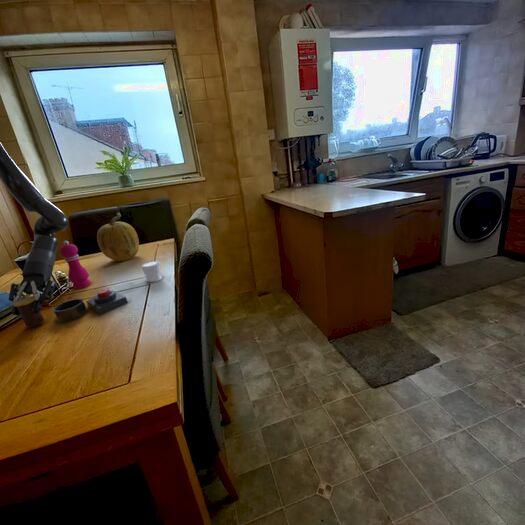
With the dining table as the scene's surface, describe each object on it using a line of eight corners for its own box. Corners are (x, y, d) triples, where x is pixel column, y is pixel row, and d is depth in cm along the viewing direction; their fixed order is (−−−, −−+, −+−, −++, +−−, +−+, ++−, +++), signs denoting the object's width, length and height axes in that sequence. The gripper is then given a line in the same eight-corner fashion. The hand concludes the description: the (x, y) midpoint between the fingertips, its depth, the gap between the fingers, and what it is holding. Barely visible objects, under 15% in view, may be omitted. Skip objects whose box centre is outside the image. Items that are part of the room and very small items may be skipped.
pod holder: (62, 325, 87) (57, 314, 86) (54, 318, 93) (49, 307, 91) (90, 312, 93) (86, 302, 92) (81, 306, 98) (77, 296, 97)
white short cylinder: (155, 275, 120) (151, 260, 117) (166, 277, 116) (162, 261, 114) (142, 281, 114) (137, 266, 112) (153, 283, 111) (148, 267, 108)
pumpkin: (140, 260, 142) (126, 212, 134) (100, 268, 138) (83, 219, 130) (145, 250, 159) (132, 207, 151) (109, 257, 156) (94, 213, 147)
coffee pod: (26, 329, 86) (15, 306, 83) (22, 324, 89) (11, 302, 87) (48, 320, 90) (38, 298, 87) (43, 315, 93) (33, 294, 91)
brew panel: (101, 314, 91) (97, 304, 89) (88, 306, 98) (84, 296, 96) (127, 302, 97) (124, 292, 96) (114, 296, 104) (110, 286, 103)
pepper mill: (90, 280, 123) (74, 237, 116) (93, 284, 118) (76, 239, 111) (71, 286, 119) (53, 241, 112) (73, 291, 113) (55, 244, 107)
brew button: (101, 298, 94) (99, 294, 93) (97, 296, 96) (95, 292, 95) (112, 294, 96) (110, 289, 96) (107, 292, 99) (106, 287, 98)
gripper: (9, 262, 90) (-9, 313, 83) (51, 257, 90) (36, 308, 83) (29, 271, 97) (14, 318, 90) (68, 267, 96) (56, 314, 89)
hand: (25, 313), depth 86 cm, fingers closed on coffee pod, 5 cm apart
